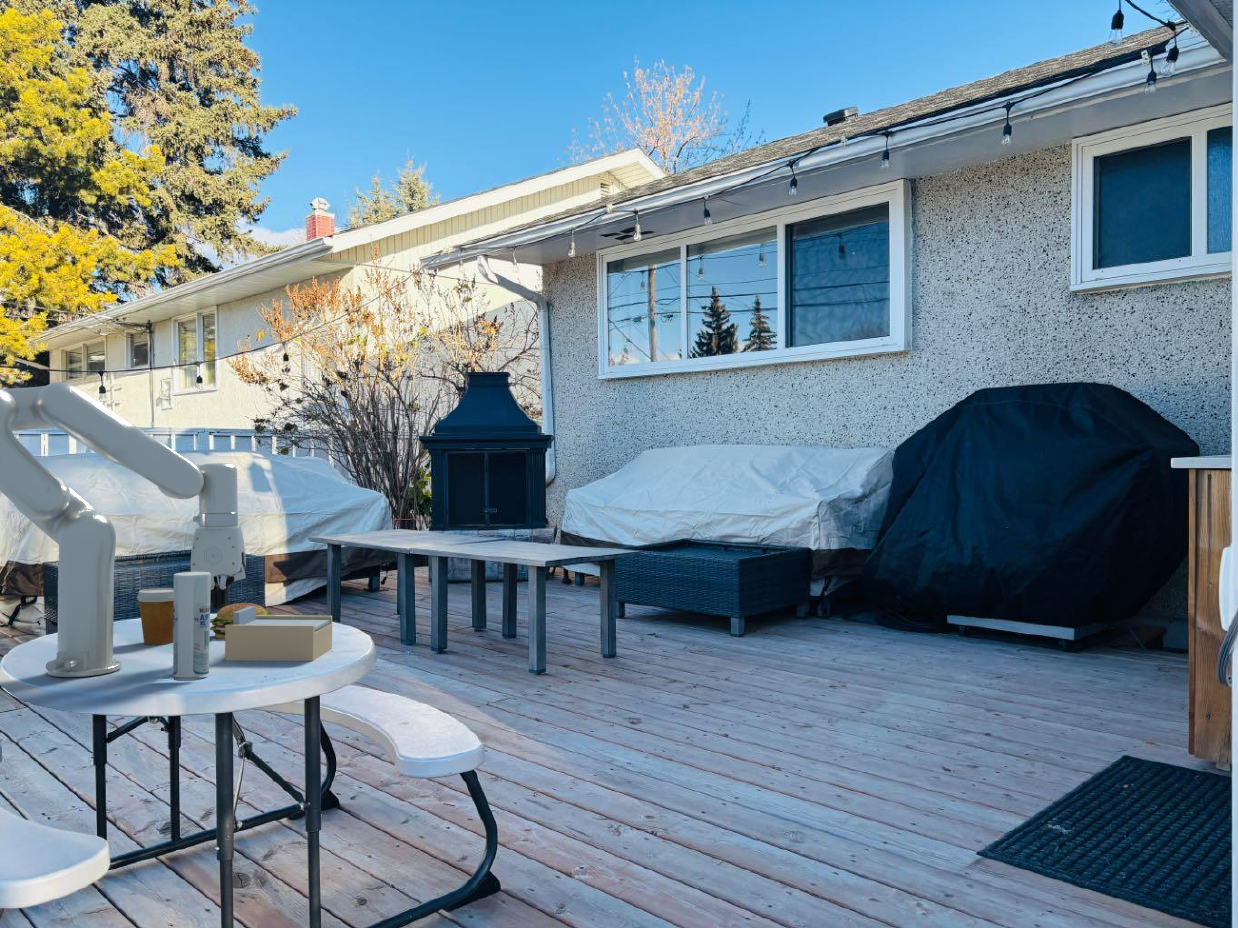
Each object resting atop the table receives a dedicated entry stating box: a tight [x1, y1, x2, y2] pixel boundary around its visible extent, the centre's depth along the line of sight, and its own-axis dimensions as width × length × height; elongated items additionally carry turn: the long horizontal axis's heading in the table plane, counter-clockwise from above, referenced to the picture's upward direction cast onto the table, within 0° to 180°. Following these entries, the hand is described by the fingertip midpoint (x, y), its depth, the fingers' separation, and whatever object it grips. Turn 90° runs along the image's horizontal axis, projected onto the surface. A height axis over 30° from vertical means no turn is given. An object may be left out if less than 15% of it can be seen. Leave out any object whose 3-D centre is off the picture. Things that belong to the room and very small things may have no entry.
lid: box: [233, 606, 330, 630], centre depth 194 cm, size 11×18×4 cm, turn 91°
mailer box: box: [224, 614, 333, 662], centre depth 194 cm, size 13×18×8 cm
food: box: [210, 602, 275, 640], centre depth 219 cm, size 14×14×8 cm
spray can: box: [172, 571, 211, 682], centre depth 176 cm, size 6×6×20 cm
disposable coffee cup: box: [136, 587, 174, 646], centre depth 210 cm, size 10×10×12 cm
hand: (219, 607), depth 195 cm, fingers closed
